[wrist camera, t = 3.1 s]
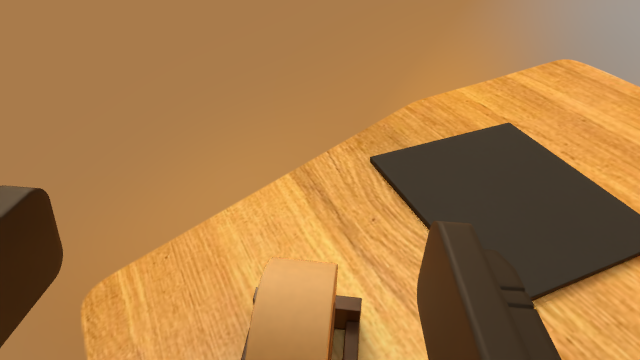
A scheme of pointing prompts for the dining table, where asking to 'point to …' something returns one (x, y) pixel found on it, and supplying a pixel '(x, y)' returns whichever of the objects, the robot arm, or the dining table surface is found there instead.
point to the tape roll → (293, 311)
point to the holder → (341, 324)
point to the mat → (517, 204)
